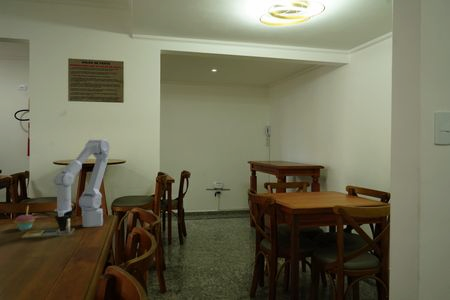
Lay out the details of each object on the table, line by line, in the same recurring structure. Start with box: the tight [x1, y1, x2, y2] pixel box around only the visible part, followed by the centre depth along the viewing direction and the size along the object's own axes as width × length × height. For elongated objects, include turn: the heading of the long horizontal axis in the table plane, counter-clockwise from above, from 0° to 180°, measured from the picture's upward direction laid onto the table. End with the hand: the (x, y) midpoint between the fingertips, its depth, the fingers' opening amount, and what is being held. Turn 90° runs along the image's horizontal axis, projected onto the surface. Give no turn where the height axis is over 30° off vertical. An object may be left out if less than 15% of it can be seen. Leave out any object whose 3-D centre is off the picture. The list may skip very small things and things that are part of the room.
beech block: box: [58, 218, 71, 234], centre depth 147 cm, size 4×4×6 cm
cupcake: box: [13, 205, 36, 231], centre depth 156 cm, size 9×8×12 cm
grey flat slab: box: [20, 227, 76, 239], centre depth 146 cm, size 20×9×1 cm, turn 106°
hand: (64, 228), depth 147 cm, fingers open, 7 cm apart
